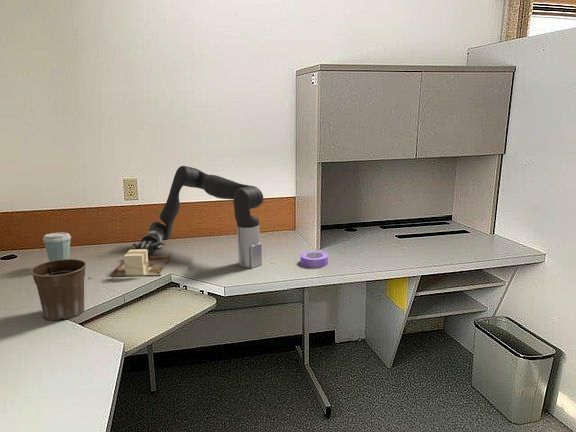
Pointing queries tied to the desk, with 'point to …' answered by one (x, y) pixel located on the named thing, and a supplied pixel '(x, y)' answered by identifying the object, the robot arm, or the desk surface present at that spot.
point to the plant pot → (60, 287)
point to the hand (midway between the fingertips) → (141, 252)
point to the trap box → (151, 269)
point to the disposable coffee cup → (57, 245)
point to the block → (136, 262)
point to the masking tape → (314, 259)
